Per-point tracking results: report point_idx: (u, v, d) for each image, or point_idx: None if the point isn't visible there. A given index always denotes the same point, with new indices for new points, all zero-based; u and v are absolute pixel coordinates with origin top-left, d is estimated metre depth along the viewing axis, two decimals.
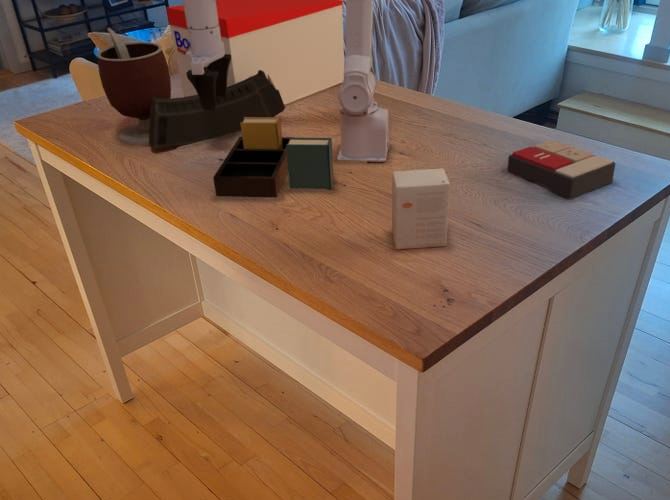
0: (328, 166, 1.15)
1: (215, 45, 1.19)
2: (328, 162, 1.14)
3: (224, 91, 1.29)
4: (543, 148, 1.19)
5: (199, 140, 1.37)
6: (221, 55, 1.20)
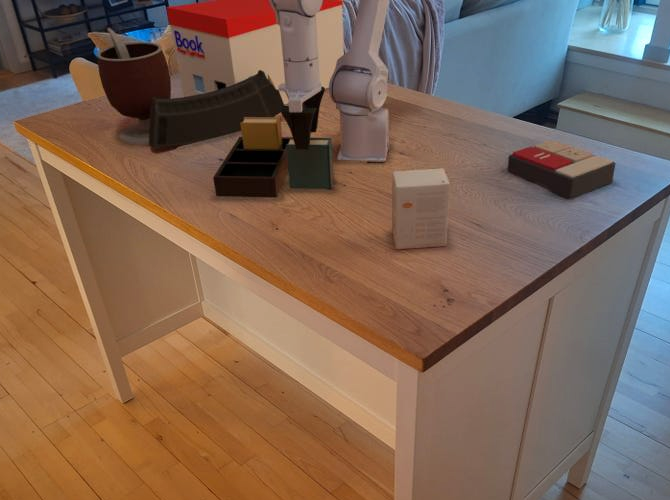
0: (328, 166, 1.15)
1: (313, 79, 1.06)
2: (328, 162, 1.14)
3: (315, 127, 1.16)
4: (543, 148, 1.19)
5: (199, 140, 1.37)
6: (319, 89, 1.07)
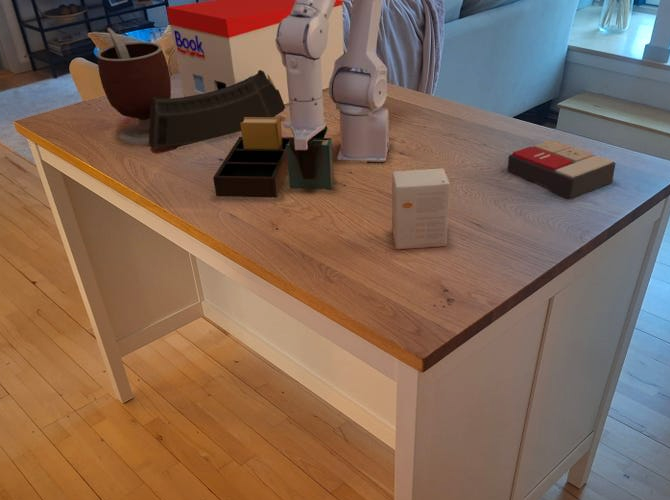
0: (328, 166, 1.15)
1: (318, 117, 1.09)
2: (328, 162, 1.14)
3: None
4: (543, 148, 1.19)
5: (199, 140, 1.37)
6: (323, 126, 1.11)
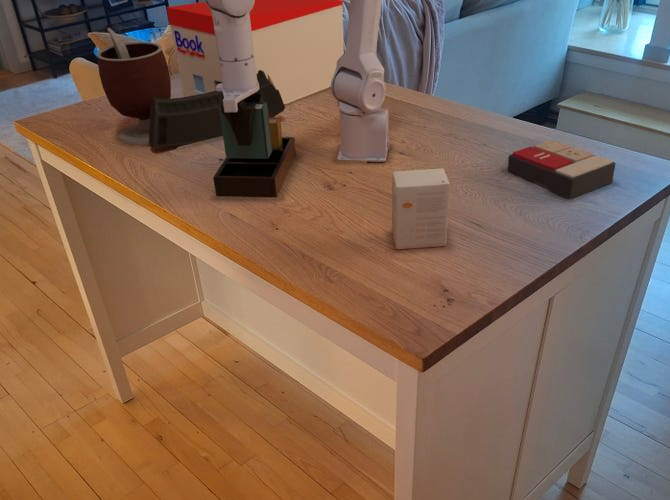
0: (263, 131, 1.10)
1: (249, 79, 1.05)
2: (263, 127, 1.10)
3: None
4: (543, 148, 1.19)
5: (199, 140, 1.37)
6: (256, 89, 1.07)
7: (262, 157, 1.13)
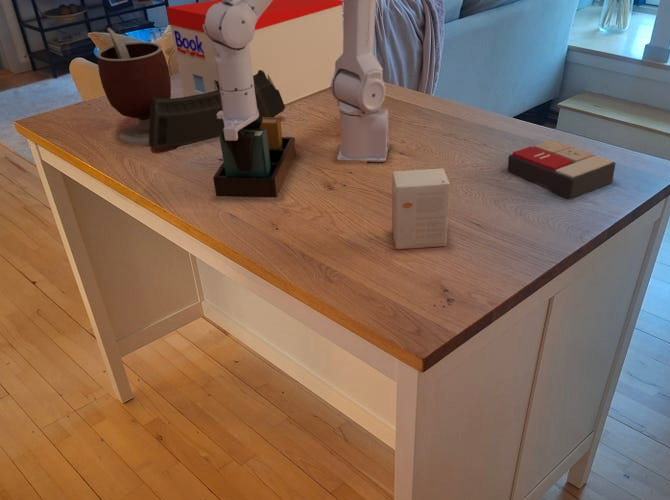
0: (263, 157, 1.13)
1: (249, 107, 1.08)
2: (262, 153, 1.13)
3: None
4: (543, 148, 1.19)
5: (199, 140, 1.37)
6: (256, 117, 1.10)
7: None
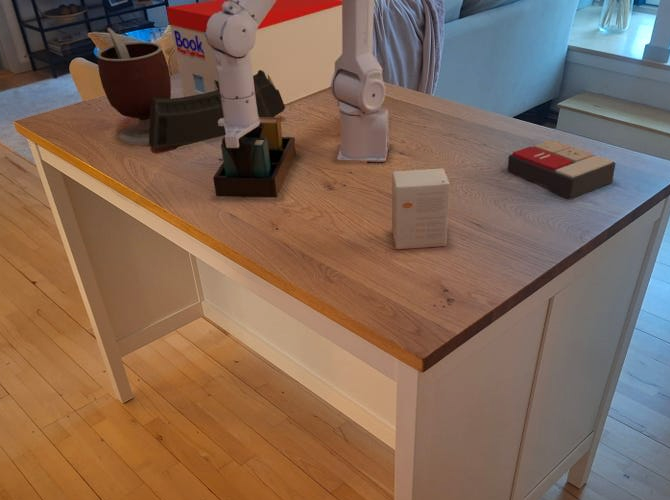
0: (264, 166, 1.14)
1: (250, 115, 1.09)
2: (263, 162, 1.14)
3: None
4: (543, 148, 1.19)
5: (199, 140, 1.37)
6: (257, 124, 1.10)
7: None
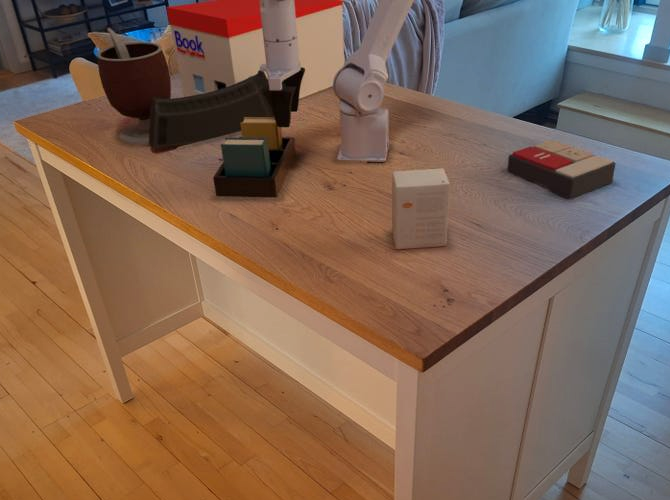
0: (264, 166, 1.14)
1: (292, 59, 1.11)
2: (263, 162, 1.14)
3: (296, 106, 1.21)
4: (543, 148, 1.19)
5: (199, 140, 1.37)
6: (298, 69, 1.12)
7: None
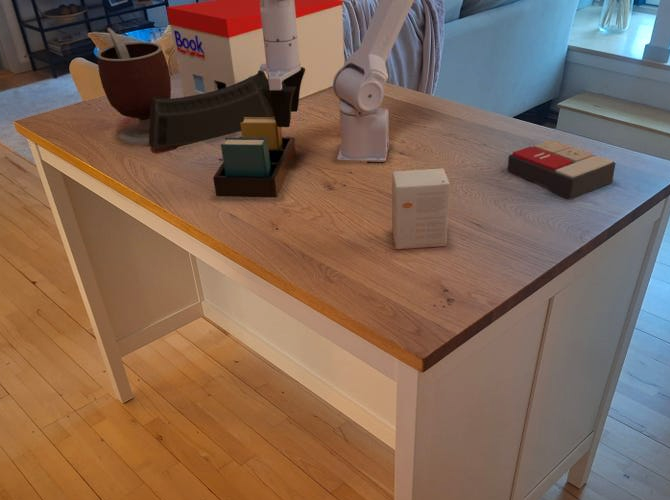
0: (264, 166, 1.14)
1: (292, 59, 1.11)
2: (263, 162, 1.14)
3: (296, 106, 1.21)
4: (543, 148, 1.19)
5: (199, 140, 1.37)
6: (298, 69, 1.12)
7: None
